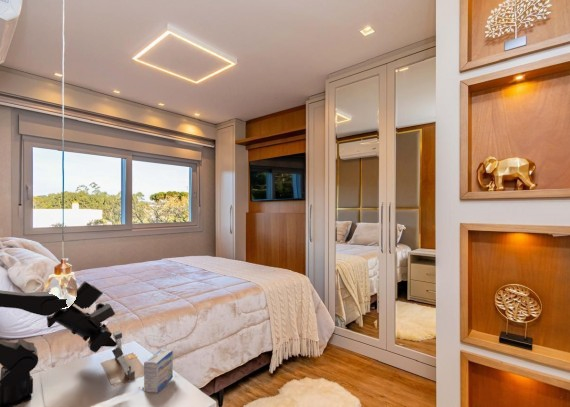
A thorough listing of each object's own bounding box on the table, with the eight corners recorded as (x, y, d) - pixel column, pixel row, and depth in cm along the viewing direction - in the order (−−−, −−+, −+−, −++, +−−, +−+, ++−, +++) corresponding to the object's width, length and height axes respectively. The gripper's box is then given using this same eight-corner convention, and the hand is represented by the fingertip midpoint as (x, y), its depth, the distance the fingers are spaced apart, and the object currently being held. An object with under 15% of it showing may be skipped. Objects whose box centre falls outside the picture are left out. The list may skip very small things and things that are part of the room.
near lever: (127, 378, 87) (114, 354, 85) (124, 374, 89) (111, 350, 87) (133, 374, 89) (121, 349, 86) (130, 370, 91) (118, 346, 89)
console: (112, 392, 83) (112, 380, 83) (99, 367, 96) (99, 357, 97) (150, 377, 90) (150, 366, 91) (133, 356, 104) (133, 346, 104)
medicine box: (157, 393, 83) (157, 363, 83) (143, 391, 84) (143, 361, 84) (173, 378, 90) (173, 350, 91) (160, 376, 91) (160, 348, 92)
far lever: (117, 362, 96) (115, 335, 96) (114, 359, 98) (112, 332, 98) (123, 359, 97) (121, 333, 97) (121, 356, 100) (119, 330, 99)
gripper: (104, 305, 87) (142, 331, 94) (92, 292, 101) (126, 316, 108) (71, 339, 82) (115, 364, 89) (63, 321, 95) (101, 344, 102)
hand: (115, 345), depth 97 cm, fingers closed, pressing on far lever
